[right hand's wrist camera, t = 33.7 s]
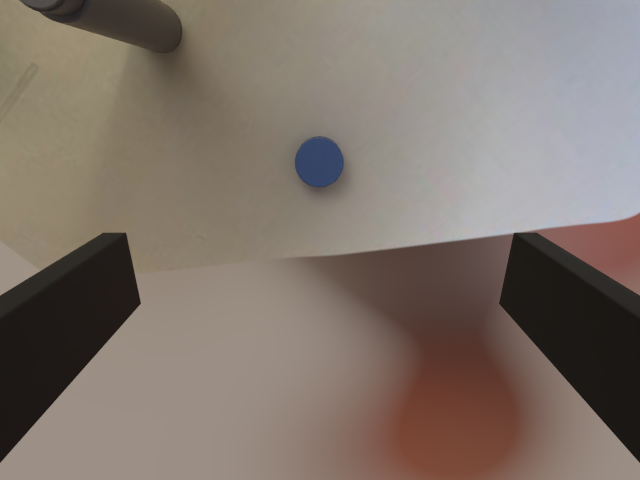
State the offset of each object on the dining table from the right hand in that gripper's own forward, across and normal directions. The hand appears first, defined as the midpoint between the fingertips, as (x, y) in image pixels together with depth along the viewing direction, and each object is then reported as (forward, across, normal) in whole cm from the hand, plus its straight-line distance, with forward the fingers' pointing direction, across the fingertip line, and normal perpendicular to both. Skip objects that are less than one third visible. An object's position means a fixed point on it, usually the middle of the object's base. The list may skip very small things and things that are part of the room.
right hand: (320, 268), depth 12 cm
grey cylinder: (+26, +15, -12) cm, 32 cm away
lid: (+24, 0, 0) cm, 24 cm away
